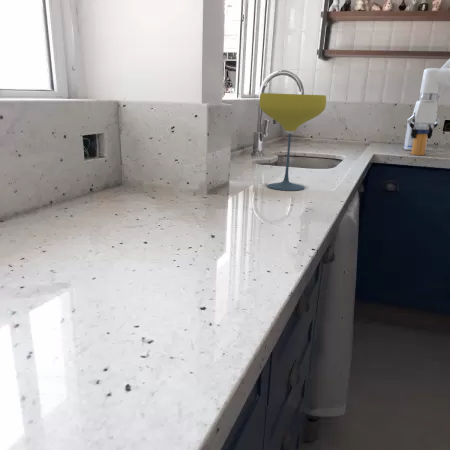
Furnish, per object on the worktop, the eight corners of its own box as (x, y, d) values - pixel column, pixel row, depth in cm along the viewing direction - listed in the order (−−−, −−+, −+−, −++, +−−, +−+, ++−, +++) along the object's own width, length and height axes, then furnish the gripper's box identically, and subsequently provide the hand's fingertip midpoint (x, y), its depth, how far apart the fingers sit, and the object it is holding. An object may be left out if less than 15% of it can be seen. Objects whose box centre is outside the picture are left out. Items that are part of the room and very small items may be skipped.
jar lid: (429, 134, 226) (429, 129, 225) (413, 133, 228) (413, 129, 228) (429, 133, 232) (429, 129, 231) (413, 132, 234) (414, 128, 234)
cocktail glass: (316, 195, 131) (327, 95, 121) (251, 190, 134) (256, 92, 124) (317, 184, 147) (326, 95, 138) (258, 180, 150) (263, 93, 140)
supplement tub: (426, 151, 250) (432, 120, 245) (413, 151, 247) (418, 120, 241) (412, 148, 258) (417, 119, 253) (399, 149, 254) (404, 119, 249)
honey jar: (427, 154, 234) (431, 131, 229) (420, 155, 230) (424, 131, 226) (415, 153, 238) (418, 130, 234) (408, 154, 234) (411, 131, 230)
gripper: (442, 98, 227) (434, 137, 234) (406, 97, 226) (400, 137, 233) (449, 98, 220) (442, 139, 228) (412, 97, 219) (406, 138, 226)
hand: (420, 137), depth 230 cm, fingers closed on jar lid, 6 cm apart
